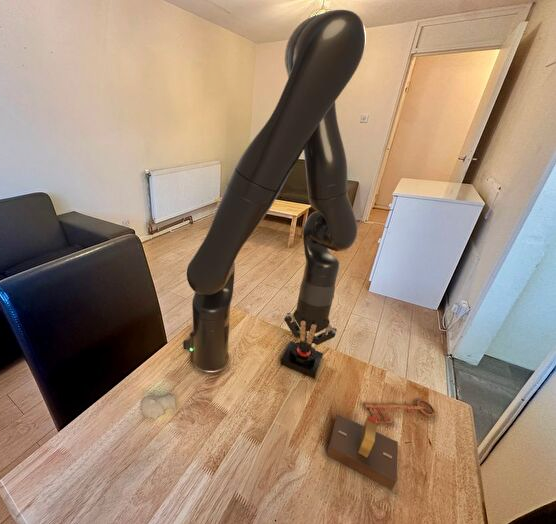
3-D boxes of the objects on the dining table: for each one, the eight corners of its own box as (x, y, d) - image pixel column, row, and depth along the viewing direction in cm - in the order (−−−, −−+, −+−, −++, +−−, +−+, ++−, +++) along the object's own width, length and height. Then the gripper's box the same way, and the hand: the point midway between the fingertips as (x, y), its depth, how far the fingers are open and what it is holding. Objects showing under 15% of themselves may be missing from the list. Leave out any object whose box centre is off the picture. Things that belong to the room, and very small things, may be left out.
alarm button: (293, 356, 76) (294, 351, 75) (297, 348, 78) (298, 343, 77) (307, 362, 74) (308, 357, 73) (311, 353, 77) (312, 348, 76)
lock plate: (326, 455, 56) (330, 445, 54) (334, 422, 62) (337, 413, 60) (391, 490, 50) (397, 480, 49) (393, 450, 56) (398, 441, 55)
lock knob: (367, 457, 52) (375, 440, 50) (357, 452, 53) (365, 435, 51) (370, 435, 56) (377, 418, 54) (361, 430, 57) (368, 413, 55)
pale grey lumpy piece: (140, 423, 63) (142, 399, 66) (176, 420, 63) (177, 396, 67) (137, 416, 60) (139, 391, 63) (175, 414, 60) (175, 389, 64)
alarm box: (280, 364, 76) (282, 353, 74) (289, 346, 82) (291, 335, 80) (314, 379, 72) (317, 367, 70) (321, 359, 78) (324, 348, 76)
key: (371, 423, 62) (443, 426, 61) (372, 420, 61) (445, 424, 61) (360, 398, 67) (426, 401, 66) (361, 396, 66) (428, 398, 65)
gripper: (283, 295, 68) (275, 349, 75) (342, 313, 61) (327, 371, 69) (292, 281, 73) (284, 333, 81) (348, 296, 67) (333, 352, 75)
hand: (304, 350), depth 75 cm, fingers closed
